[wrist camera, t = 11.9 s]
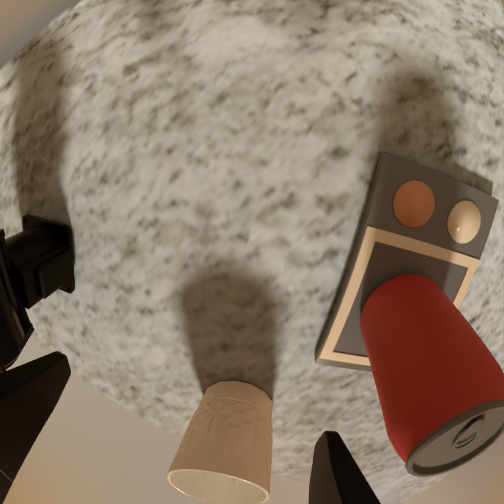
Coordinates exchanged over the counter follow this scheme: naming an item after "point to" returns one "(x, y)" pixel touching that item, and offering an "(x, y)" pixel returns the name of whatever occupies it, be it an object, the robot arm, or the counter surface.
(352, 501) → the robot arm
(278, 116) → the counter surface
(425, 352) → the beer can
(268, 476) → the white cup
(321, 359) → the slate card
